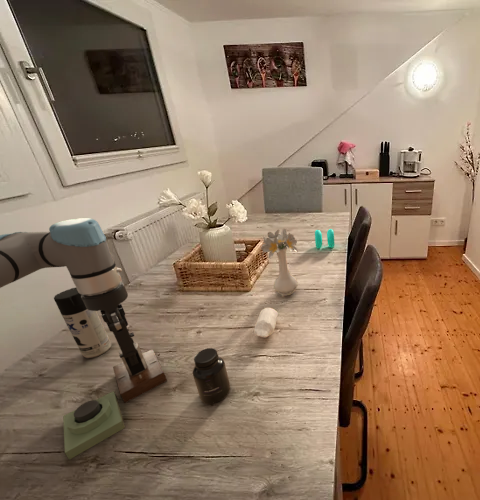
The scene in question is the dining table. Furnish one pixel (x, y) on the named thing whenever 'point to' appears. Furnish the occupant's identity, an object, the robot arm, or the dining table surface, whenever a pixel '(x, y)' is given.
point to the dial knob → (140, 357)
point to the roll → (266, 322)
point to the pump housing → (92, 426)
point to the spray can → (83, 324)
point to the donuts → (329, 238)
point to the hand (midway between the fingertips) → (136, 366)
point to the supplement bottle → (210, 376)
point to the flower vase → (281, 260)
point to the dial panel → (139, 378)
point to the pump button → (87, 411)
